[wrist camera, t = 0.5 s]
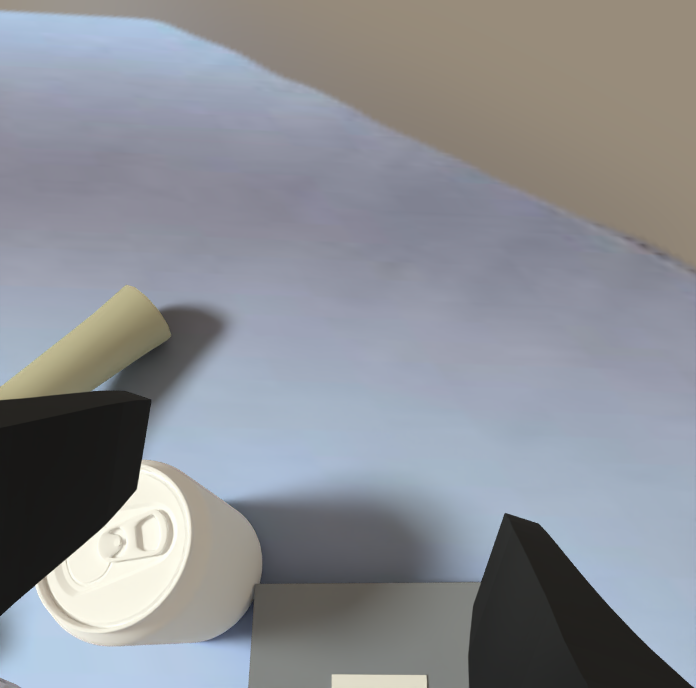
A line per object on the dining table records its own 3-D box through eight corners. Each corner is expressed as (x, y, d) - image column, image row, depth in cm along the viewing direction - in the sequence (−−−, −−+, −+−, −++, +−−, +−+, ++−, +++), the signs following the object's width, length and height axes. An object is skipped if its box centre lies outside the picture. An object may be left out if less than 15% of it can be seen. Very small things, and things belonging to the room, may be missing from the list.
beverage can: (131, 522, 38) (20, 478, 27) (252, 487, 38) (190, 431, 27) (143, 659, 34) (21, 672, 24) (276, 620, 34) (216, 615, 24)
